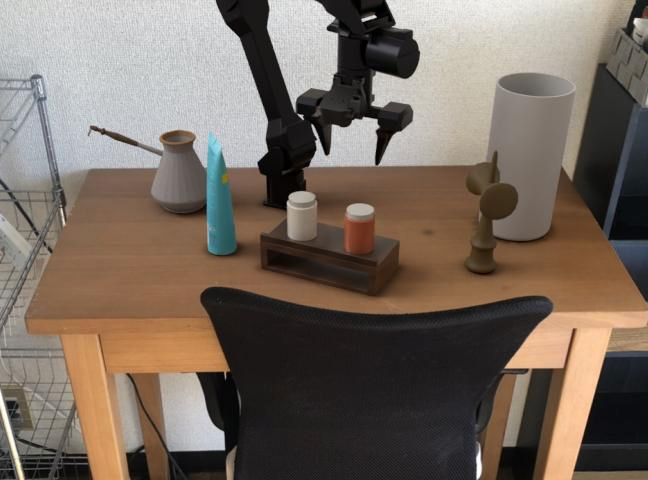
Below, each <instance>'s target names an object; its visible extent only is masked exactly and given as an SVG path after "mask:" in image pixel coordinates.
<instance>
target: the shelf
mask: <svg viewBox="0 0 648 480" xmlns="http://www.w3.org/2000/svg"><path fill="white" fill-rule="evenodd" d="M259 240H260V241H259V243H260V245H259V246H260V269H263V270H267V271H270V272H275V273H278V274H281V275H282V274H283V275H287V276H291V277H295V278H299V279H303V280H306V281H311V282H313V283H318V284H322V285H327V286H331V287H333V288H338V289H343V290H347V291H350V292H355V293H360V294H363V295H367V296H371V297H376V296H377V294H378V293H379V292H380V291H381V290H382V289H383V287H384V286H385V285H386V283H387V282H388V281H389V280H390V278H391V277H392V276H393V275H394V273H395V272H397V270H398V269H399V260H400V243H401V240H398V239H394V238H390V237H385V236H381V235H377V234H375V241H374V249H373V251H371V252H369V253H366V254H354V253H350V252H348V251H346V250H345V249H344V227H342V226H341V227H340V226H336V225H331V224H326V223H322V222H318V221H317V236H316V237H315V238H314V239H311V240H308V241H298V240H294V239H291V238H289V237H288V234H287V217H286V218H285V219H283V220H282V221H281V222H280V223H279V224H278V225H276V226H275V227H274V228H273V229H272V230H271V231H270V232H268V233H267V232H264V231H262V232H260V234H259Z"/></svg>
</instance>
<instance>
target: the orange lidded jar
mask: <svg viewBox="0 0 648 480" xmlns="http://www.w3.org/2000/svg"><path fill="white" fill-rule="evenodd" d="M376 215H377V214H376V213H375V208H374V207H373V206H372V205H370V204H367V203H362V202H361V203H360V202H359V203H352V204H350V205H348V206H347V207H346V211H345V213H344V219H343V220H344V222H343V225H344V226H343V228H344V249H345V250H346V251H348V252H350V253H354V254H366V253H369V252H371V251H373V249H374V241H375V235H376V221H377V220H376V218H377V216H376Z"/></svg>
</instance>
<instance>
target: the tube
mask: <svg viewBox="0 0 648 480" xmlns="http://www.w3.org/2000/svg"><path fill="white" fill-rule="evenodd" d="M223 148H224V147H223V146H222V144H221V143H220V141H219V140H218V139H217V137H216V136H215V134H214V133H212V131H211V130H208V140H207V152H206V153H207V156H206V172H207V203H206V232H207V235H206V236H207V250H208V252H209V253H210V254H213V255H215V256H227V255H231V254H233V253H235V252H236V250H237V248H238V245H237V235H236V227H235V226H236V225H235V215H234V209H233V201H232V200H233V199H232V193H231V186H230V181H229V174H228V170H227V165H226V161H225V157H224V153H223V151H222V150H223Z"/></svg>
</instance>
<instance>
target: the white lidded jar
mask: <svg viewBox="0 0 648 480" xmlns="http://www.w3.org/2000/svg"><path fill="white" fill-rule="evenodd" d="M286 218H287V234H288V237H289V238H291V239H294V240H298V241H308V240H311V239H314V238H315V237H316V236H317V222H318V201H317V200H316V195H315V194H314V193H313V192H311V191H310V192H309V191H306V192H305V191H299V192H294V193H292V194H290V195H289V200H288V201H287V210H286Z"/></svg>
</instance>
